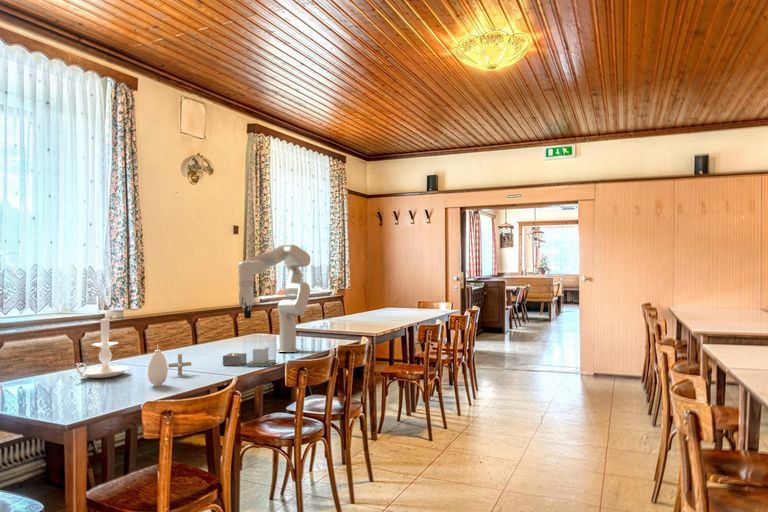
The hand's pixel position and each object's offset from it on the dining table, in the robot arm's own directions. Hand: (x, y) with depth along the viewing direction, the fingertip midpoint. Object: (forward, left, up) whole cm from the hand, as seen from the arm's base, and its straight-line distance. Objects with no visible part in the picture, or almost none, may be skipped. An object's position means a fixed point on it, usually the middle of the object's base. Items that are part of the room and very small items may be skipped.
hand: (247, 318), depth 281 cm
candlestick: (+44, -54, -24) cm, 74 cm away
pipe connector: (+38, -18, -24) cm, 48 cm away
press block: (+9, -4, -23) cm, 25 cm away
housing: (+10, +11, -22) cm, 26 cm away
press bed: (+10, +11, -23) cm, 27 cm away
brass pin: (+9, -4, -23) cm, 25 cm away
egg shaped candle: (+60, -16, -24) cm, 66 cm away
